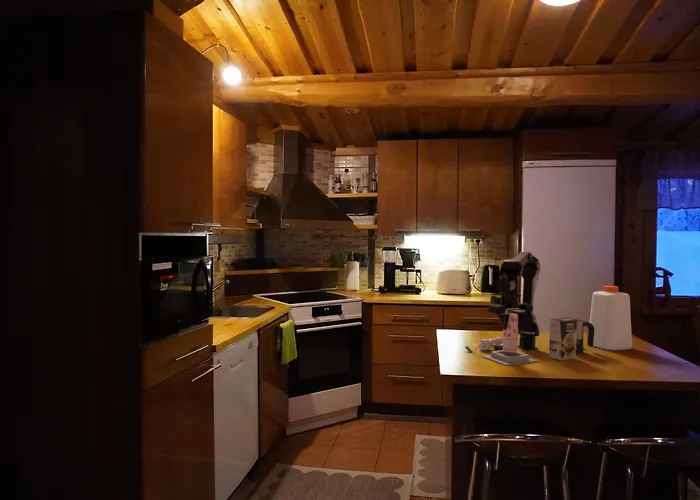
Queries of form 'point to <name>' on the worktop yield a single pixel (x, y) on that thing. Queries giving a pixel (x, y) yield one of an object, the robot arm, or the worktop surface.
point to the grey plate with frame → (509, 358)
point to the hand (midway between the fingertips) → (510, 329)
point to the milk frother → (580, 333)
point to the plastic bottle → (611, 319)
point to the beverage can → (511, 334)
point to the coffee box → (562, 338)
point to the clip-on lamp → (489, 344)
